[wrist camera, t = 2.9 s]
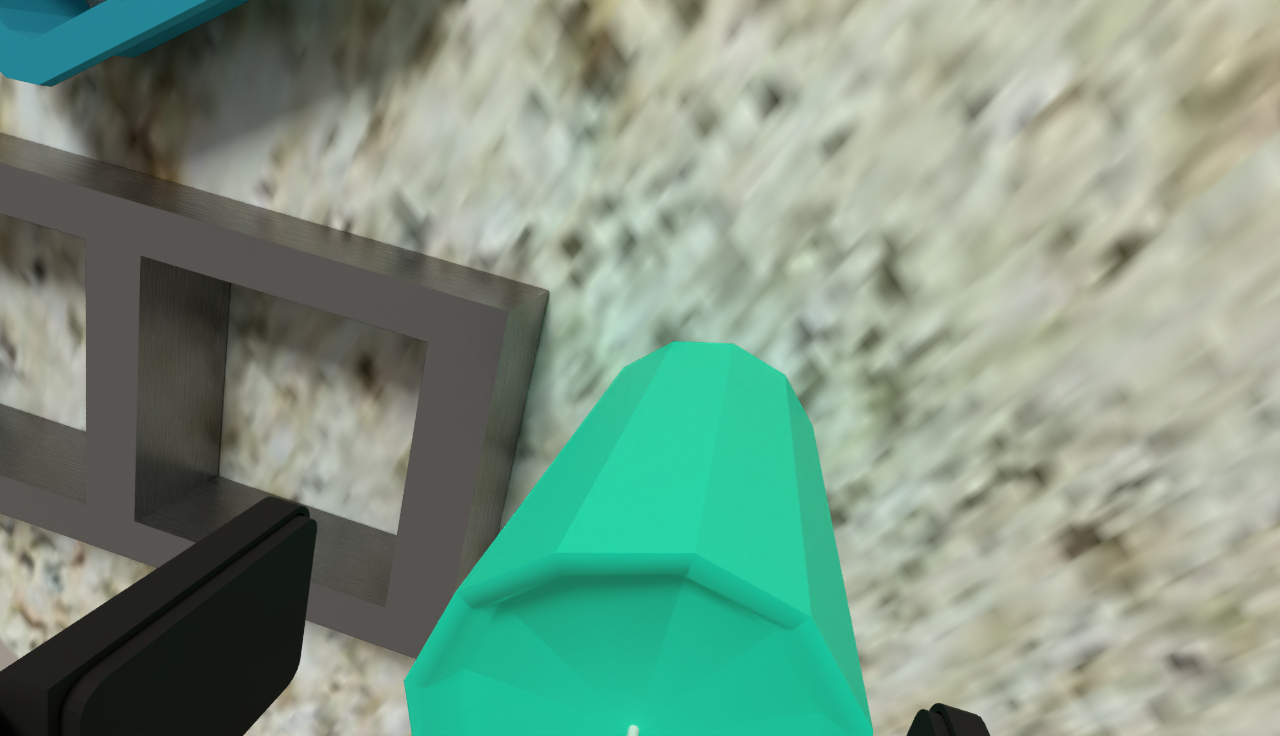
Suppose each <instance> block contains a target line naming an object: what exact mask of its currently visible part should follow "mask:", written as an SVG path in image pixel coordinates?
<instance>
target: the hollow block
mask: <svg viewBox="0 0 1280 736" xmlns="http://www.w3.org/2000/svg"><path fill="white" fill-rule="evenodd" d="M0 213H1V214H4V215H8V216H11V217H14V218H18V219H21V220H24V221H28V222H31V223H34V224H38V225H41V226H44V227H48V228H51V229H54V230H58V231H61V232H64V233H68V234H71V235H74V236H77V237H81V238H84V239H86V432H83V431H80V430H77V429H74V428H71V427H68V426H65V425H62V424H59V423H56V422H53V421H50V420H47V419H44V418H41V417H38V416H35V415H32V414H29V413H26V412H23V411H20V410H17V409H14V408H11V407H8V406H5V405H2V404H0V513H2V514H5V515H8V516H10V517H13V518H16V519H19V520H22V521H25V522H27V523H30V524H33V525H36V526H39V527H42V528H45V529H47V530H50V531H53V532H56V533H59V534H62V535H65V536H67V537H70V538H73V539H76V540H79V541H82V542H85V543H87V544H90V545H93V546H96V547H99V548H102V549H105V550H107V551H110V552H113V553H116V554H119V555H122V556H125V557H127V558H130V559H133V560H136V561H139V562H142V563H144V564H147V565H150V566H153V567H156V568H159V567H160V566H162V565H163V564H165V563H166V562H168V561H169V560H171V559H172V558H174V557H176V556H177V555H179V554H180V553H182V552H183V551H185V550H186V549H188V548H189V547H191V546H192V545H194V544H195V543H197V542H198V541H200V540H201V539H203V538H204V537H206V536H207V535H209V534H211V533H212V532H214V531H215V530H217V529H218V528H220V527H221V526H223V525H224V524H226V523H227V522H229V521H230V520H232V519H233V518H235V517H236V516H238V515H239V514H241V513H243V512H244V511H246V510H247V509H249V508H250V507H252V506H253V505H255V504H256V503H258V502H259V501H261V500H262V499H264V498H266V497H269V496H273V497H277V498H280V499H283V500H286V501H290V502H293V503H296V504H299V505H302V506H305V507H307V508H308V509H309V513H310V518H311V519H314V520H315V521H316V522H317V534H316V542H315V550H314V558H313V565H312V573H311V581H310V589H309V596H308V604H307V612H306V619H305V620H307V621H310V622H313V623H316V624H319V625H321V626H324V627H327V628H330V629H333V630H336V631H339V632H341V633H344V634H347V635H350V636H353V637H356V638H358V639H361V640H364V641H367V642H370V643H373V644H376V645H378V646H381V647H384V648H387V649H390V650H393V651H396V652H398V653H401V654H404V655H407V656H410V657H413V658H416V659H417V657H418V656H419V654H420V652H421V651H422V649H423V647H424V645H425V644H426V642H427V640H428V638H429V637H430V635H431V633H432V632H433V630H434V628H435V626H436V625H437V623H438V621H439V619H440V618H441V616H442V614H443V613H444V611H445V609H446V607H447V606H448V604H449V602H450V600H451V599H452V597H453V595H454V594H455V592H456V591H457V589H458V588H459V587H460V585H461V584H462V583H463V581H464V580H465V579H466V577H467V576H468V575H469V573H470V572H471V571H472V569H473V568H474V567H475V565H476V564H477V563H478V561H479V560H480V559H481V557H482V556H483V555H484V553H485V552H486V551H487V549H488V548H489V547H490V545H491V544H492V543H493V541H494V540H495V539H496V537H497V535H498V531H499V526H500V521H501V516H502V512H503V507H504V502H505V498H506V493H507V488H508V483H509V479H510V474H511V469H512V465H513V460H514V455H515V450H516V446H517V441H518V436H519V431H520V427H521V422H522V417H523V413H524V408H525V403H526V398H527V394H528V389H529V384H530V380H531V375H532V370H533V365H534V361H535V356H536V351H537V347H538V342H539V337H540V332H541V328H542V323H543V318H544V314H545V309H546V304H547V299H548V295H549V291H548V290H545V289H541V288H538V287H534V286H531V285H528V284H524V283H521V282H517V281H514V280H510V279H507V278H503V277H500V276H496V275H493V274H489V273H486V272H482V271H479V270H475V269H472V268H469V267H465V266H462V265H458V264H455V263H451V262H448V261H444V260H441V259H437V258H434V257H430V256H427V255H423V254H420V253H417V252H413V251H410V250H406V249H403V248H399V247H396V246H392V245H389V244H385V243H382V242H378V241H375V240H371V239H368V238H364V237H361V236H358V235H354V234H351V233H347V232H344V231H340V230H337V229H333V228H330V227H326V226H323V225H319V224H316V223H312V222H309V221H305V220H302V219H299V218H295V217H292V216H288V215H285V214H281V213H278V212H274V211H271V210H267V209H264V208H260V207H257V206H253V205H250V204H246V203H243V202H240V201H236V200H233V199H229V198H226V197H222V196H219V195H215V194H212V193H208V192H205V191H201V190H198V189H194V188H191V187H187V186H184V185H181V184H177V183H174V182H170V181H167V180H163V179H160V178H156V177H153V176H149V175H146V174H142V173H139V172H135V171H132V170H129V169H125V168H122V167H118V166H115V165H111V164H108V163H104V162H101V161H97V160H94V159H90V158H87V157H83V156H80V155H76V154H73V153H70V152H66V151H63V150H59V149H56V148H52V147H49V146H45V145H42V144H38V143H35V142H31V141H28V140H24V139H21V138H17V137H14V136H11V135H7V134H4V133H0ZM230 283H233V284H237V285H240V286H243V287H247V288H250V289H253V290H257V291H260V292H263V293H267V294H270V295H273V296H277V297H280V298H283V299H287V300H290V301H293V302H296V303H300V304H303V305H306V306H310V307H313V308H316V309H320V310H323V311H326V312H330V313H333V314H336V315H340V316H343V317H346V318H350V319H353V320H356V321H360V322H363V323H366V324H369V325H373V326H376V327H379V328H383V329H386V330H389V331H393V332H396V333H399V334H403V335H406V336H409V337H413V338H416V339H419V340H423V341H426V342H428V345H427V351H426V357H425V363H424V370H423V376H422V382H421V388H420V395H419V401H418V407H417V413H416V420H415V426H414V432H413V438H412V445H411V451H410V457H409V463H408V470H407V476H406V482H405V488H404V495H403V501H402V507H401V513H400V520H399V526H398V532H397V536H396V535H393V534H390V533H387V532H384V531H381V530H378V529H375V528H372V527H369V526H366V525H363V524H360V523H357V522H354V521H351V520H348V519H345V518H342V517H339V516H336V515H333V514H330V513H327V512H324V511H321V510H318V509H315V508H312V507H309V506H306V505H303V504H300V503H297V502H294V501H291V500H288V499H285V498H282V497H279V496H276V495H273V494H270V493H267V492H264V491H261V490H258V489H255V488H252V487H249V486H246V485H243V484H240V483H237V482H234V481H231V480H228V479H225V478H222V477H219V476H218V464H219V449H220V433H221V418H222V402H223V387H224V372H225V356H226V341H227V326H228V310H229V295H230Z"/></svg>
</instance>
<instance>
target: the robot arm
mask: <svg viewBox="0 0 1280 736" xmlns="http://www.w3.org/2000/svg"><path fill="white" fill-rule="evenodd" d="M316 534H317V522H316V521H315V520H314V519H311V518H310V513H309V509H308V508H307V507H305V506H302V505H299V504H296V503H293V502H290V501H286V500H283V499H280V498H277V497H273V496H269V497H266V498H264V499H262V500H261V501H259V502H258V503H256V504H255V505H253V506H252V507H250V508H249V509H247V510H246V511H244V512H243V513H241V514H239V515H238V516H236V517H235V518H233V519H232V520H230V521H229V522H227V523H226V524H224V525H223V526H221V527H220V528H218V529H217V530H215V531H214V532H212V533H211V534H209V535H207V536H206V537H204V538H203V539H201V540H200V541H198V542H197V543H195V544H194V545H192V546H191V547H189V548H188V549H186V550H185V551H183V552H182V553H180V554H179V555H177V556H176V557H174V558H172V559H171V560H169V561H168V562H166V563H165V564H163V565H162V566H160V567H159V568H157V569H156V570H154V571H153V572H151V573H150V574H148V575H147V576H145V577H144V578H142V579H140V580H139V581H137V582H136V583H134V584H133V585H131V586H130V587H128V588H127V589H125V590H124V591H122V592H121V593H119V594H118V595H116V596H115V597H113V598H112V599H110V600H108V601H107V602H105V603H104V604H102V605H101V606H99V607H98V608H96V609H95V610H93V611H92V612H90V613H89V614H87V615H86V616H84V617H83V618H81V619H80V620H78V621H77V622H75V623H73V624H72V625H70V626H69V627H67V628H66V629H64V630H63V631H61V632H60V633H58V634H57V635H55V636H54V637H52V638H51V639H49V640H48V641H46V642H45V643H43V644H41V645H40V646H38V647H37V648H35V649H34V650H32V651H31V652H29V653H28V654H26V655H25V656H23V657H22V658H20V659H19V660H17V661H16V662H14V663H13V664H11V665H9V666H8V667H6V668H5V669H3V670H2V671H0V736H243V735H244V734H245V733H246V732H247V731H248V730H249V729H250V727H251V726H252V725H253V724H254V723H255V722H256V721H257V720H258V719H259V717H260V716H261V715H262V714H263V713H264V712H265V711H266V710H267V709H268V708H269V706H270V705H271V704H272V703H273V702H274V701H275V700H276V699H277V698H278V696H279V695H280V694H281V693H282V692H283V691H284V690H285V689H286V688H287V686H288V685H289V684H290V682H291V681H292V679H293V677H294V676H295V674H296V671H297V669H298V666H299V663H300V658H301V650H302V643H303V635H304V627H305V619H306V612H307V604H308V596H309V589H310V581H311V573H312V565H313V558H314V550H315V542H316ZM907 736H990V734H989V732H988V730H987V727H986V725H985V723H984V722H983V720H982V718H981V717H979V716H978V715H976V714H973V713H970V712H967V711H964V710H960V709H957V708H954V707H951V706H947V705H944V704H941V703H936V704H934V705H933V706H932V707H931V708H930V710H929V711H928V710H925V709H921V710H920V711H919V712H918V713H917V714H916V716H915V718H914V720H913V723H912V725H911V727H910V729H909V731H908V733H907Z"/></svg>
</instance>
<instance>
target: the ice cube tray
mask: <svg viewBox="0 0 1280 736" xmlns="http://www.w3.org/2000/svg"><path fill="white" fill-rule="evenodd" d="M248 1H250V0H106V1H104V2H103V3H101V4H99V5H97V6H95V7H93V8H91V9H89V6H88V4H87V2H86V0H0V72H1V73H2V74H3V75H4V76H5V77H7V78H11V79H15V80H19V81H24V82H28V83H32V84H37V85H43V86H50V87H52V86H54V85H56V84H58V83H60V82H62V81H64V80H66V79H68V78H70V77H72V76H74V75H76V74H78V73H80V72H82V71H84V70H86V69H88V68H90V67H92V66H94V65H96V64H98V63H100V62H102V61H104V60H106V59H108V58H110V57H112V56H123V57H137V56H139V55H141V54H143V53H145V52H147V51H149V50H151V49H153V48H155V47H157V46H159V45H161V44H163V43H165V42H167V41H169V40H171V39H173V38H175V37H177V36H179V35H181V34H183V33H185V32H187V31H189V30H191V29H193V28H195V27H197V26H199V25H201V24H203V23H205V22H207V21H209V20H211V19H213V18H215V17H217V16H219V15H221V14H223V13H225V12H227V11H229V10H231V9H233V8H235V7H238V6H240V5H242V4H244V3H246V2H248Z"/></svg>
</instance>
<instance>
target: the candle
mask: <svg viewBox="0 0 1280 736" xmlns="http://www.w3.org/2000/svg"><path fill="white" fill-rule="evenodd" d="M404 685H405V691H406V698H407V705H408V711H409V718H410V725H411V732H412V736H873V728H872V723H871V718H870V713H869V707H868V702H867V697H866V692H865V687H864V682H863V677H862V672H861V667H860V662H859V657H858V652H857V647H856V642H855V637H854V632H853V627H852V622H851V617H850V612H849V607H848V602H847V597H846V592H845V587H844V582H843V577H842V572H841V566H840V561H839V556H838V551H837V546H836V541H835V536H834V531H833V526H832V521H831V516H830V511H829V506H828V501H827V496H826V491H825V486H824V481H823V476H822V471H821V466H820V461H819V456H818V451H817V446H816V441H815V436H814V431H813V426H812V424H811V422H810V420H809V418H808V417H807V415H806V413H805V411H804V409H803V407H802V405H801V404H800V402H799V400H798V398H797V396H796V394H795V392H794V391H793V389H792V387H791V385H790V383H789V381H788V379H787V378H786V376H785V375H784V374H783V373H781V372H779V371H778V370H776V369H774V368H773V367H771V366H769V365H768V364H766V363H765V362H763V361H761V360H760V359H758V358H756V357H755V356H753V355H751V354H750V353H748V352H747V351H745V350H743V349H742V348H740V347H738V346H737V345H735V344H730V343H705V342H679V341H673V342H671V343H670V344H668V345H666V346H664V347H662V348H660V349H658V350H656V351H654V352H652V353H650V354H649V355H647V356H645V357H643V358H641V359H639V360H637V361H635V362H633V363H631V364H629V365H627V366H626V367H624V368H623V369H622V370H621V372H620V373H619V374H618V376H617V377H616V378H615V380H614V381H613V382H612V384H611V385H610V386H609V388H608V389H607V390H606V392H605V393H604V394H603V396H602V397H601V398H600V400H599V401H598V402H597V404H596V405H595V406H594V408H593V409H592V410H591V412H590V413H589V414H588V416H587V417H586V418H585V420H584V421H583V422H582V424H581V425H580V426H579V428H578V429H577V430H576V432H575V433H574V434H573V436H572V437H571V438H570V440H569V441H568V442H567V444H566V445H565V446H564V448H563V449H562V450H561V452H560V453H559V454H558V456H557V457H556V458H555V460H554V461H553V462H552V464H551V465H550V466H549V468H548V469H547V470H546V472H545V473H544V474H543V476H542V477H541V478H540V480H539V481H538V482H537V484H536V485H535V486H534V488H533V489H532V490H531V492H530V493H529V494H528V496H527V497H526V499H525V500H524V501H523V503H522V504H521V505H520V507H519V508H518V509H517V511H516V512H515V513H514V515H513V516H512V517H511V519H510V520H509V521H508V523H507V524H506V525H505V527H504V528H503V529H502V531H501V532H500V533H499V535H498V536H497V537H496V539H495V540H494V541H493V543H492V544H491V545H490V547H489V548H488V549H487V551H486V552H485V553H484V555H483V556H482V557H481V559H480V560H479V561H478V563H477V564H476V565H475V567H474V568H473V569H472V571H471V572H470V573H469V575H468V576H467V577H466V579H465V580H464V581H463V583H462V584H461V585H460V587H459V588H458V589H457V591H456V592H455V594H454V595H453V597H452V599H451V600H450V602H449V604H448V606H447V607H446V609H445V611H444V613H443V614H442V616H441V618H440V619H439V621H438V623H437V625H436V626H435V628H434V630H433V632H432V633H431V635H430V637H429V638H428V640H427V642H426V644H425V645H424V647H423V649H422V651H421V652H420V654H419V656H418V657H417V659H416V661H415V663H414V664H413V666H412V668H411V670H410V671H409V673H408V675H407V676H406V678H405V680H404Z"/></svg>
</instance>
